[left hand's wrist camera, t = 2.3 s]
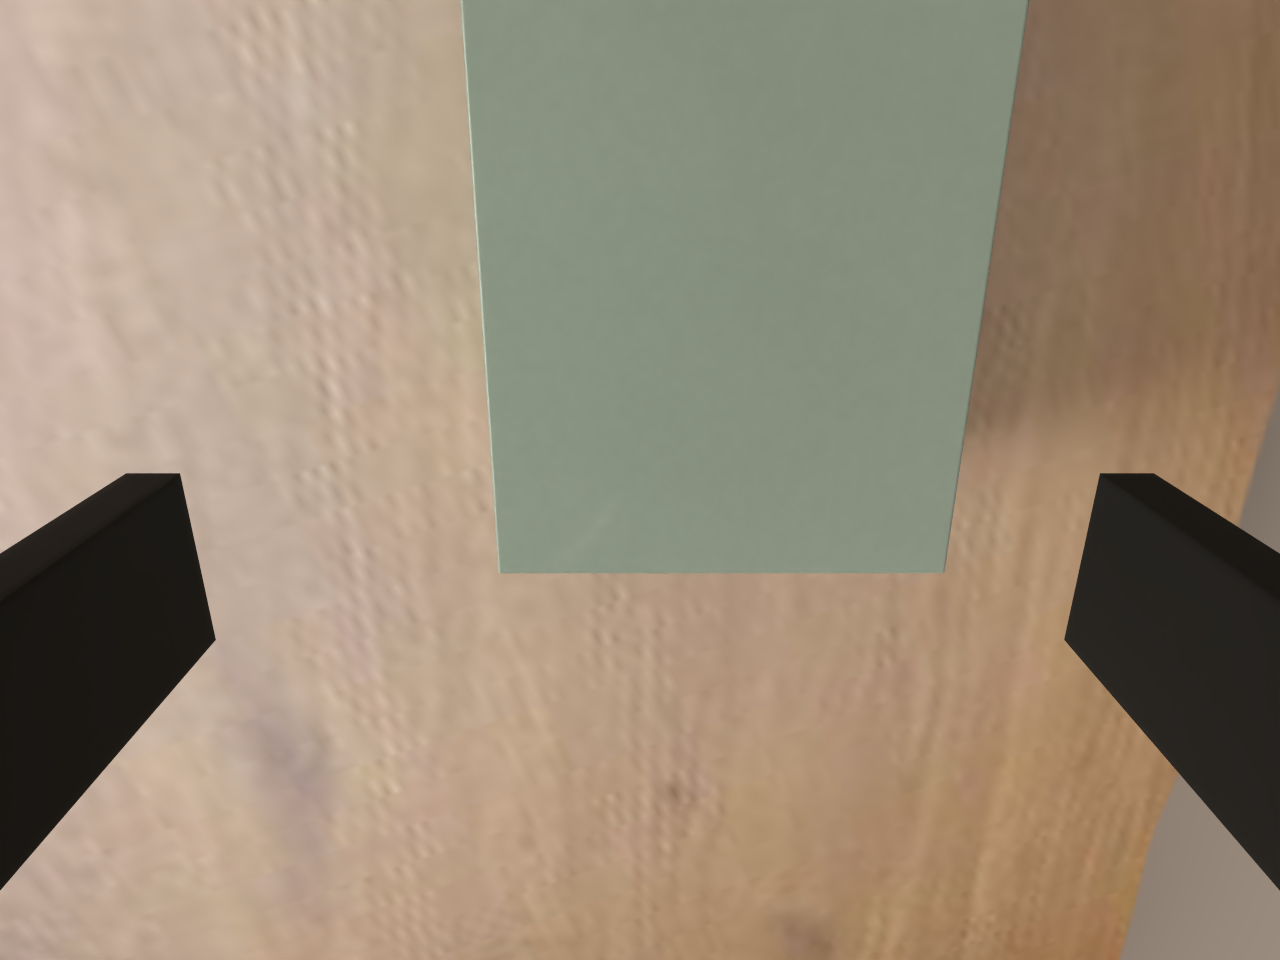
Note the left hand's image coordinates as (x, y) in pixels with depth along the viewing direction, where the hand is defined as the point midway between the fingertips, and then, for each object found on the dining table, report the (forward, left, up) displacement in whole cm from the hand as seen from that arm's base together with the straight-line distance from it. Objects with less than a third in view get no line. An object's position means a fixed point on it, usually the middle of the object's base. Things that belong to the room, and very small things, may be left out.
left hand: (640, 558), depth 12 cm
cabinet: (+6, -1, -17) cm, 18 cm away
